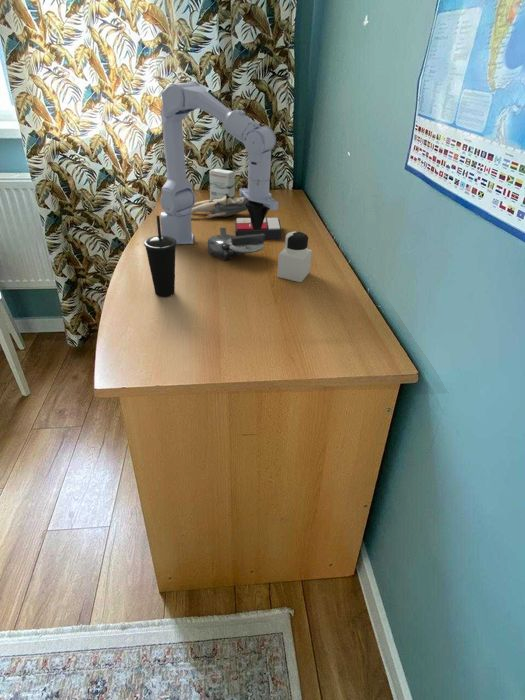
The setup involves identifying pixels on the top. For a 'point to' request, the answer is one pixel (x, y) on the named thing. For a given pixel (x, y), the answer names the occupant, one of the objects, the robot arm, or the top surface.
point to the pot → (216, 243)
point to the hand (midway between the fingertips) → (257, 228)
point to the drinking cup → (162, 262)
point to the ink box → (222, 183)
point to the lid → (245, 243)
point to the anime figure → (221, 206)
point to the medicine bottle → (295, 257)
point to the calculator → (269, 228)
